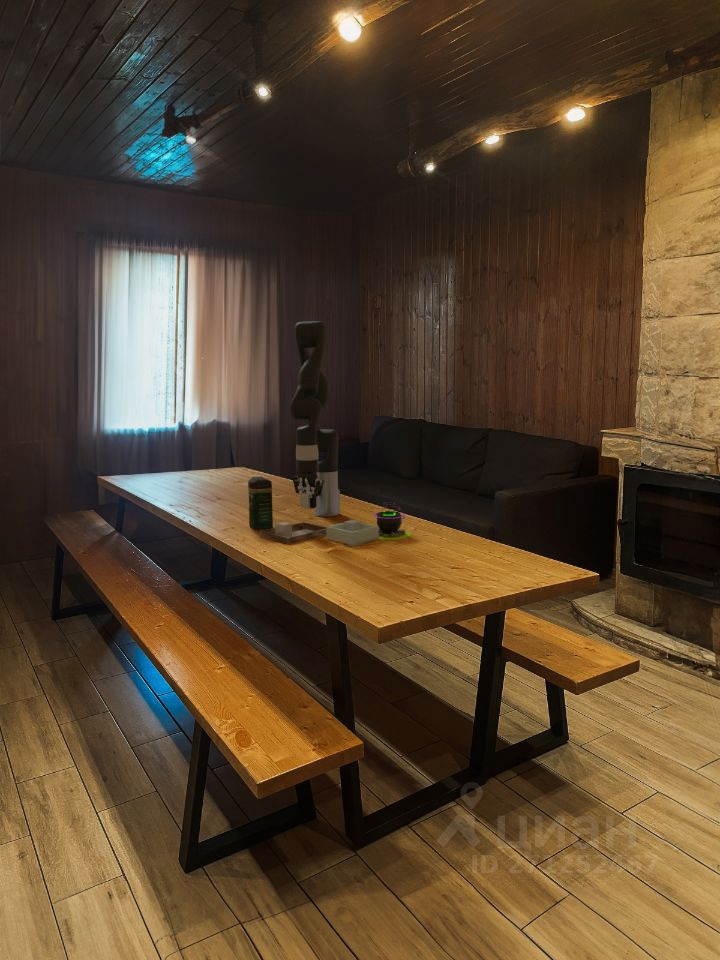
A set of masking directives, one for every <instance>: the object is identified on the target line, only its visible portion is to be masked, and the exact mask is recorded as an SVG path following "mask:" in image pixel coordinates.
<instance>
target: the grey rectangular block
mask: <svg viewBox="0 0 720 960" xmlns="http://www.w3.org/2000/svg"><path fill="white" fill-rule="evenodd" d="M312 493H313V491H312ZM313 494H314V493H313ZM316 502H317V498H316ZM316 504H317V503H316ZM299 505H300V506H299V507H300V508H301V509H305V510H310V509H311V508H310V495H309V491H307V492H304V493H300V495H299ZM316 507H317V505H316Z"/></svg>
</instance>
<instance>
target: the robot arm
mask: <svg viewBox="0 0 720 960" xmlns="http://www.w3.org/2000/svg"><path fill="white" fill-rule="evenodd" d="M294 338H295V342H296V343H295V344H296V349H297V353H298V358H299V364H300V370H299V372H298V377H297V378H298V379H297V387H296V388H297V389H296V391H295V394H294V396H293V397H292V400H291V403H290V405H289V413H290V416H291V418H293V419H294V420H296V421H299V420H300V421H301V420H305V421H307V425H304V426H300V427H297V429H296V431H295V432H296V433H295V434H296V435H295V439H296V440H295V441H296V448H295V459H296V460H295V461H296V462H295V466H296V472H297V473H298V474H297V475H295V476H292V479H291V480H292V483H293V486H294V491H295V493H296V494H297V495H299V496H300V493H304V492H309V495H310V508H311V509H314V516H317V517H327V518H328V517H335V516H338V515H339V514H341V490H340V489H339V481H338V480H339V476H338V475H339V474H338V473H339V472H338V470H339V469H338V466H339V433H338V432H337V430H335V429H331V428H330V429H329V428H328V429H327V428H326V429H324V428H323V429H319V423H320V422H319V421H320V417H321V415H322V413H323V411H324V409H325V408H326V406H327V404H328V402H329V398H330V391H329V383H328V379H327V378H326V375H325V374H324V373H323V372H322V370H321V369H322V368H321V367H322V363H323V359H324V356H325V351H326V346H327V343H328V342H327V341H328V331H327V325H326V323H325V322H324V321H320V320H315V321H313V320H311V321H300V322H297V323H296V324H295V326H294ZM308 349H313V352H312V353H311V354H310V352H309V350H308ZM319 454H327V457H326V458H325V459H323V460H321V461H319ZM312 492H313V493H314V494H313V493H312ZM316 498H317V502H316ZM316 503H317V504H316ZM316 505H317V507H316Z"/></svg>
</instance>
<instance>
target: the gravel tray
mask: <svg viewBox="0 0 720 960" xmlns="http://www.w3.org/2000/svg"><path fill="white" fill-rule="evenodd" d="M324 536H327V526H325V525H320V524H316V523H315V524H314V523H310V522H305V521H302V522H297V523H292V537H285V536H281V535H277V534H275V527H273V528H271V529H266V530H259V537H260V538H263V539H267V540H270V541H274V542H279V543H283V544H286V545H290V544H295V543H299V542H303V541H307V540H312V539H315V538H320V537H324Z"/></svg>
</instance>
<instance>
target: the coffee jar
mask: <svg viewBox="0 0 720 960" xmlns="http://www.w3.org/2000/svg"><path fill="white" fill-rule="evenodd" d="M247 481H248V482H247V483H248V485H247V487H248V488H247V489H248V526H249V527H250V529H252V530H255V531H263V530H267V529H272V528H274V519H273V518H274V517H273V483H272V481H271V480H270V479H268V478H266V477H263V476H252V477H250V478H249V480H247Z"/></svg>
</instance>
